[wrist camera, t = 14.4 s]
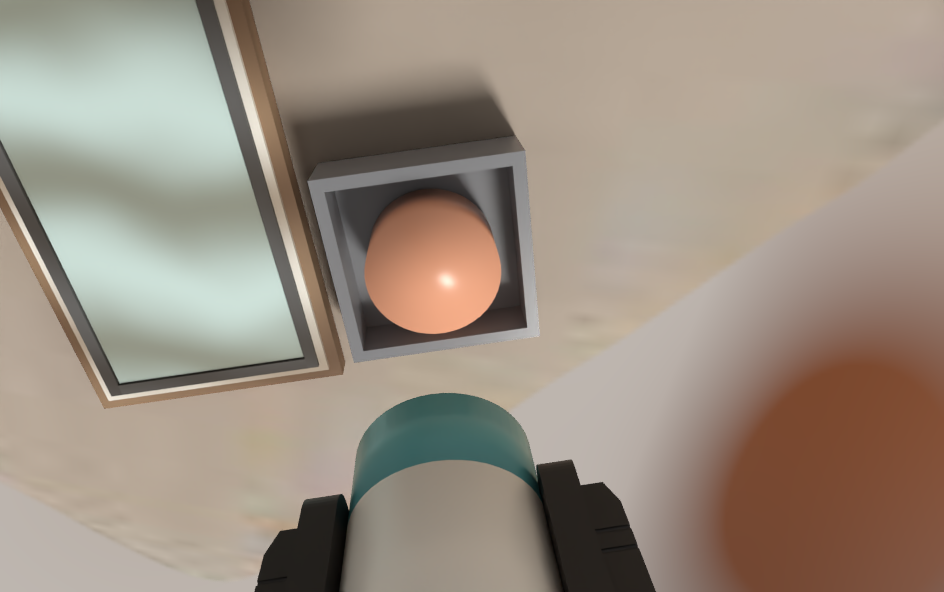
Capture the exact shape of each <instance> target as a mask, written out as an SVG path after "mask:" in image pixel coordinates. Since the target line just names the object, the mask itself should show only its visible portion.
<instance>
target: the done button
mask: <svg viewBox="0 0 944 592" xmlns="http://www.w3.org/2000/svg"><path fill="white" fill-rule="evenodd" d="M364 276H365V283H366V287H367V291H368V293H369V296H370V298H371V300H372V301H373V303H374V304H375V306H376V307H377V309H378V310H379V311H380V312H381V313H382V314H383V315H384V316H385V317H386V318H387V319H389V320H390V321H392V322H393V323H395V324H397V325H398V326H400V327H402V328H405V329H408V330H410V331H414V332H418V333H426V334H438V333H446V332H451V331H454V330H457V329H460V328H462V327H465V326H467V325H468V324H470V323H472V322H473V321H475V320H476V319H477V318H479V317H480V316H481V315H482V314H483V313H484V312H485V311H486V310H487V309H488V307H489V306H490V305H491V303H492V302H493V300H494V298H495V296H496V294H497V292H498V289H499V285H500V280H501V263H500V258H499V254H498V251H497V247H496V244H495V240H494V237H493V234H492V230H491V227H490V225H489V223H488V221H487V219H486V217H485V216H484V214H483V213H482V212H481V210H480V209H479V208H478V207H477V206H476V205H475V204H473V203H472V202H471V201H470V200H468V199H467V198H465V197H463V196H461V195H459V194H457V193H454V192H451V191H448V190H442V189H421V190H416V191H413V192H410V193H407V194H405V195H403V196H401V197H399V198H397V199H396V200H394V201H393V202H391V203H390V204H389V205H388V206H387V207H386V208H385V209H384V210H383V211H382V212H381V214H380V215H379V217H378V218H377V220H376V222H375V224H374V226H373V229H372V233H371V237H370V241H369V246H368V251H367V256H366V261H365V268H364Z"/></svg>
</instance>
